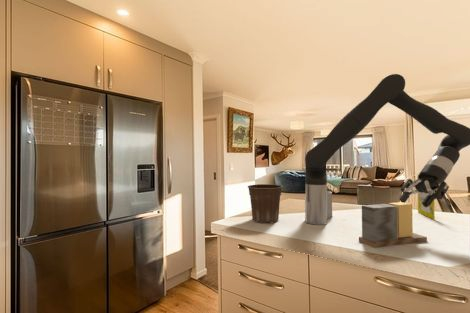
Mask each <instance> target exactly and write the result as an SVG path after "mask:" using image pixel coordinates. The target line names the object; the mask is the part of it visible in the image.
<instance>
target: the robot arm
mask: <svg viewBox="0 0 470 313" xmlns="http://www.w3.org/2000/svg"><path fill="white" fill-rule="evenodd" d="M405 87H406V79H405V77H404V76H403V75H401V74H399V73H391V74H388V75H386V76H384V77H383V78H382V79H381V81H379V83H378V84H377V85H376V86H375V87H374V89H373V90H372V91H371V92H370V93H369V94H368V96H367V97H365V98H364V99H363V100H362V101H360V102H359V103H358V104H356V106H354V107H353V108H352V109H351V110H350V111H349V112H347V113H346V114H345V115H344V117H342V118H341V119H340V120H339V122H337V124H336V125H335V126H334V127H333V128H332V129H331V131H330V132H329V133H328V135H326V137H324V139H322V141H320V142H319V143H317V145H315V146H314V147H313V148H311V149H309V150H308V151H307V152H306V154H305V158H304V162H305V178H304V180H305V199H304V208H305V209H304V214H305V215H304V219H305V222H306V224H311V225H326V224H328V218H327V191H328V183H327V182H328V176H327V162H328V161H329V160H331V158H332V157H333V155H335V154H336V152H337V151H338V150H339V149H341V148H342V147H344V146H345V145H346V144H348V143H349V142H350V141H351V140H353V139H354V138H355V137H356V136H357V135H358V134H360V133H361V132H362V131H363V129H365V128H366V127H367V126H368V125H369V123H370V122H371V121H372V120H373V119H374V118H375V116H376V115H377V114H378V113H379V111H380V110H381V109H382V108H384V106H385V105H386V104H390V105H392V106H394V107H396V108H397V109H399V110H401V111H403V113H405V114H407V115H409V116H410V117H411V118H413V119H414V121H415V120H416V121H417V122H418V123H419V124H421V126H422V127H424V128H425V129H427V130H428V131H429V132H431V133H432V134H434V135H438V134H441V133H442V134H445V136H444V137H443V138H442V139H441V141H440V143H439V144H438V148H437V150H436V152H435V153H434V154H433V155H432V157H431V158H430V159H428V161H427V163H425V165H424V166H423V168H422V169H421V171H420V172H419V173H418V175H419V177H417V178H418V179H416V180H412V178H408V179H407V180H406V181H405V182H404V183H403V184H402V186H401V187H400V189H399V190H400V191H401V192H402V194H401V195H400V197H399V202H403V203H407V200H408V199H409V198H410V197H411V196H412V195H416V194H418V192H421V193H422V192H424V193H428V194H429V195H427V196H426V198H425V199H424V200H423V202H422V205H423V206H424V207H428V206H430V205H431V203H432V202H433V200H434V201H435V200H436V199H438V200H442V199H443V198H444V197H445V196H446V193H447V192H448V190H449V189H450V186H449V185H448V183H447V182H446V179H447V178H448V176H449V175H450V173H451V172H452V170H453V167H454V166H455V165H456V163H457V162H458V161H459V158H460V156H461V153H460V151H461V150H462V149H465V148H466V147H469V146H470V127H467V126H466V125H464V124H461V123H459V122H457V121H455V120H452V119H449V118H448V117H446V116H445V115H444V114H442V113H441V112H440V111H438V110H437V109H435V108H434V107H432V106H429V105H428V104H425V103H423V102H421V101H419V100H416V99H415V98H413V97H411V96H410V95H409V94H408V93H407V92H406V91H405ZM414 188H415V189H414Z"/></svg>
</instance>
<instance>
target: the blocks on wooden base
mask: <svg viewBox="0 0 470 313" xmlns="http://www.w3.org/2000/svg"><path fill="white" fill-rule="evenodd" d="M358 242H359V243H362V244H365V245H367V246H369V247H371V248H374V249H379V248H386V247H393V246H401V245H410V244H417V243H425V242H428V236H425V235H421V234H417V233H414V232H413V236H409V237H400V238H399V237H398V206H393V205H389V203H388V204H387V203H380V204H379V203H378V204H366V205H364V204H363V205H361V236H358Z"/></svg>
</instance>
